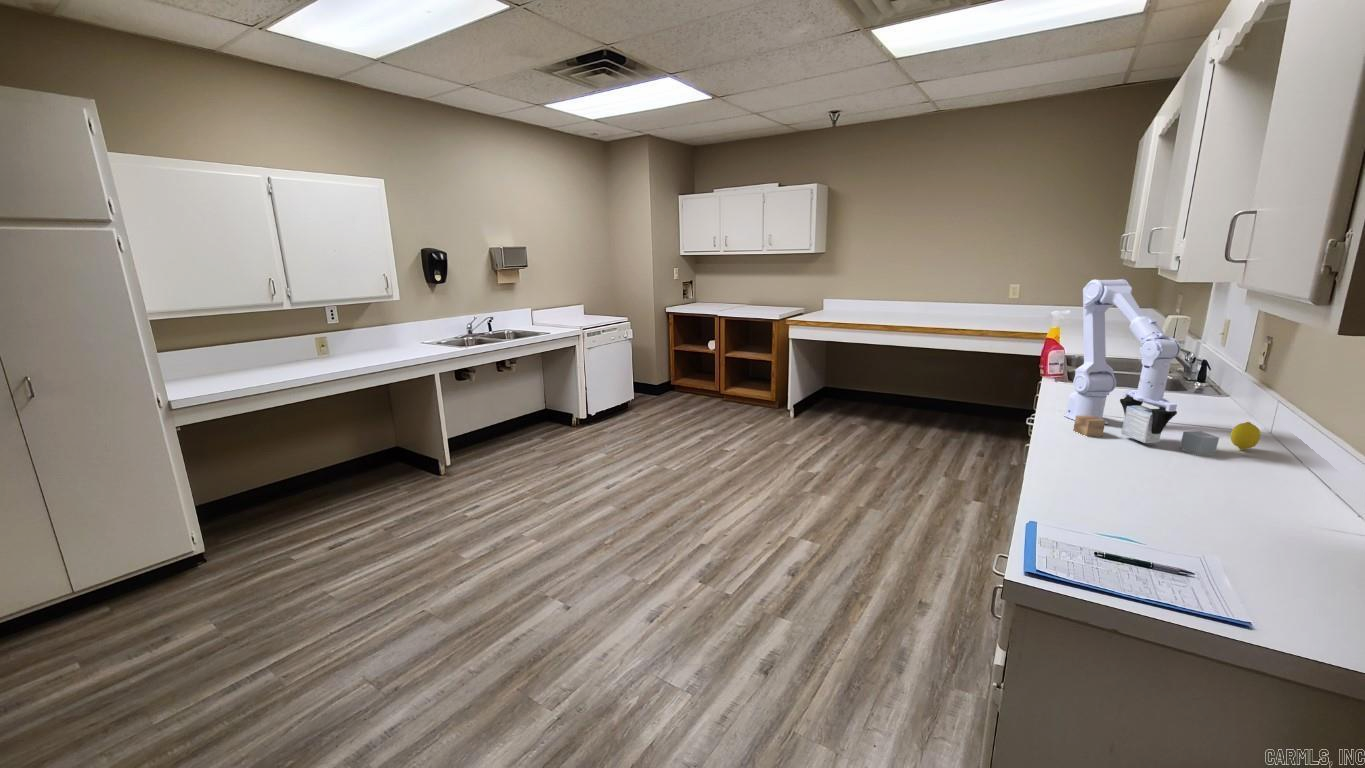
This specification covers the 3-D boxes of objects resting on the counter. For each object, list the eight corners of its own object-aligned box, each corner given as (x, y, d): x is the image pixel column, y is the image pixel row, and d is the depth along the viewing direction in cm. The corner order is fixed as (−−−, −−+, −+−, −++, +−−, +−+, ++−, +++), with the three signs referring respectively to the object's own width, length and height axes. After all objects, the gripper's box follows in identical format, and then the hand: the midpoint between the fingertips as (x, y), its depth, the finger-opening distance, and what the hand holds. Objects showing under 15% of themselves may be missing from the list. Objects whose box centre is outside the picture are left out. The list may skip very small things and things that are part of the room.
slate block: (1179, 448, 151) (1183, 431, 149) (1196, 448, 151) (1200, 431, 150) (1197, 455, 146) (1201, 438, 144) (1214, 455, 146) (1219, 437, 145)
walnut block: (1073, 431, 165) (1075, 415, 164) (1088, 430, 165) (1091, 415, 164) (1086, 437, 160) (1089, 420, 159) (1102, 436, 160) (1105, 420, 159)
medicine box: (1159, 443, 151) (1166, 413, 149) (1143, 443, 151) (1150, 414, 149) (1135, 433, 159) (1141, 405, 157) (1120, 433, 159) (1126, 405, 157)
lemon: (1243, 446, 152) (1250, 419, 150) (1261, 454, 146) (1269, 425, 144) (1221, 446, 152) (1228, 418, 150) (1239, 453, 147) (1246, 425, 145)
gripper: (1117, 375, 158) (1107, 420, 161) (1163, 389, 144) (1152, 437, 147) (1140, 375, 158) (1130, 419, 162) (1188, 388, 144) (1176, 436, 148)
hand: (1142, 428), depth 154 cm, fingers closed on medicine box, 7 cm apart
